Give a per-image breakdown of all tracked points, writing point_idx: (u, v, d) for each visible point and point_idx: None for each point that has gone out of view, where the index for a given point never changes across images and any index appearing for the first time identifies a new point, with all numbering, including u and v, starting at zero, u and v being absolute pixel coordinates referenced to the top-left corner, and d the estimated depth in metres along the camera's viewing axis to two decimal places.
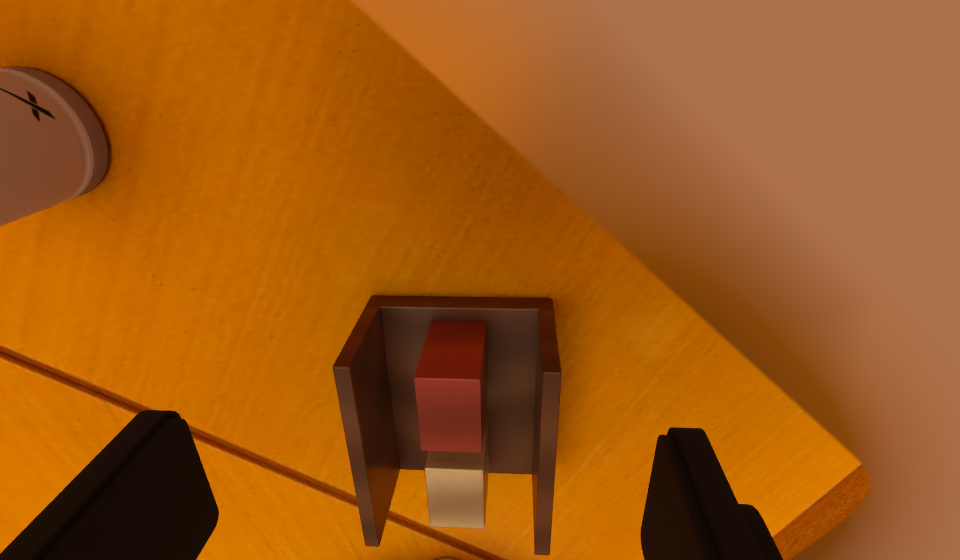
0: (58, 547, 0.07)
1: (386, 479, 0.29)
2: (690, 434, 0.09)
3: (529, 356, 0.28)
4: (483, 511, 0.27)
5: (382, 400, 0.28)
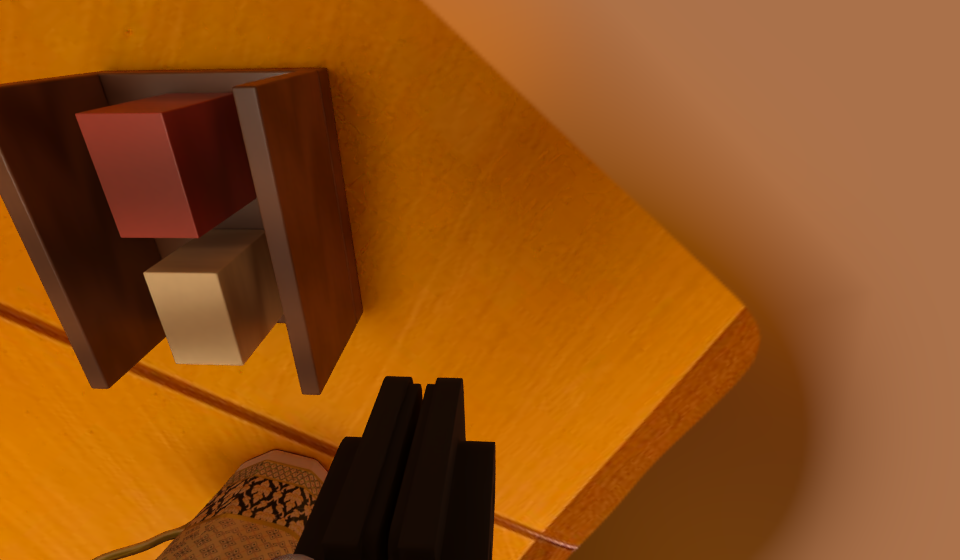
0: (384, 488, 0.08)
1: (133, 312, 0.23)
2: (447, 382, 0.10)
3: None
4: (235, 339, 0.21)
5: None
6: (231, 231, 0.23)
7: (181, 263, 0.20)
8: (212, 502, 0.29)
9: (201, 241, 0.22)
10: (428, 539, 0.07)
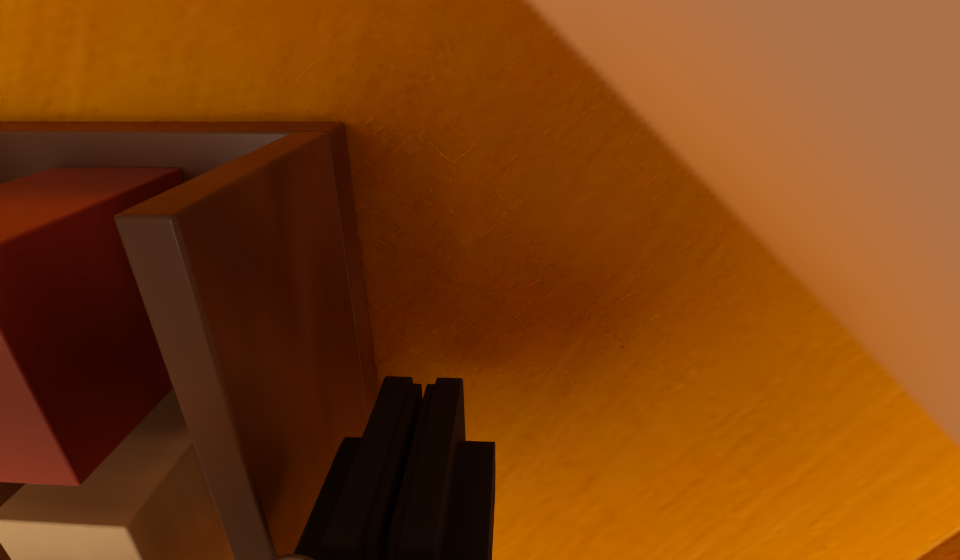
0: (384, 488, 0.08)
1: None
2: (447, 382, 0.10)
3: None
4: None
5: None
6: None
7: (67, 489, 0.11)
8: None
9: None
10: (428, 539, 0.07)
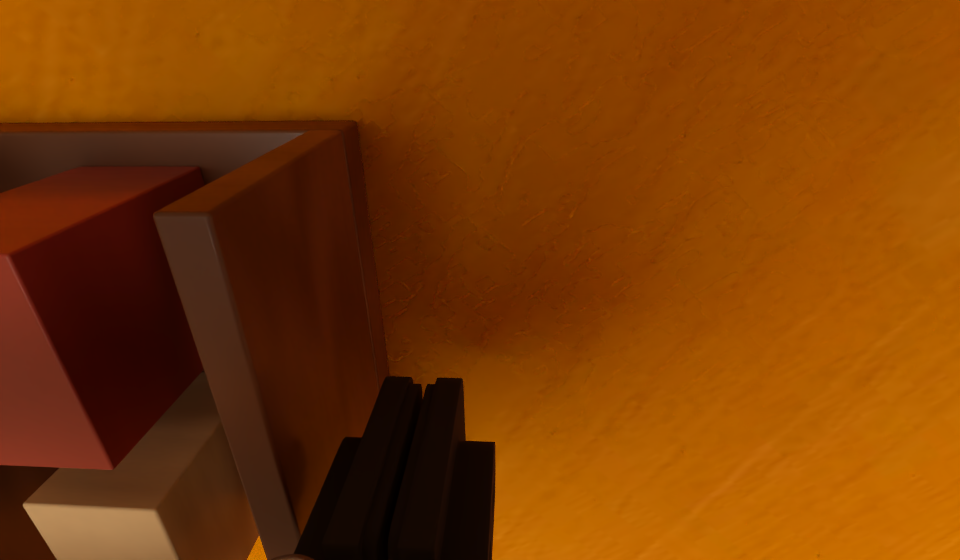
0: (384, 488, 0.08)
1: None
2: (447, 382, 0.10)
3: None
4: None
5: None
6: (197, 378, 0.14)
7: (97, 475, 0.11)
8: None
9: None
10: (428, 539, 0.07)
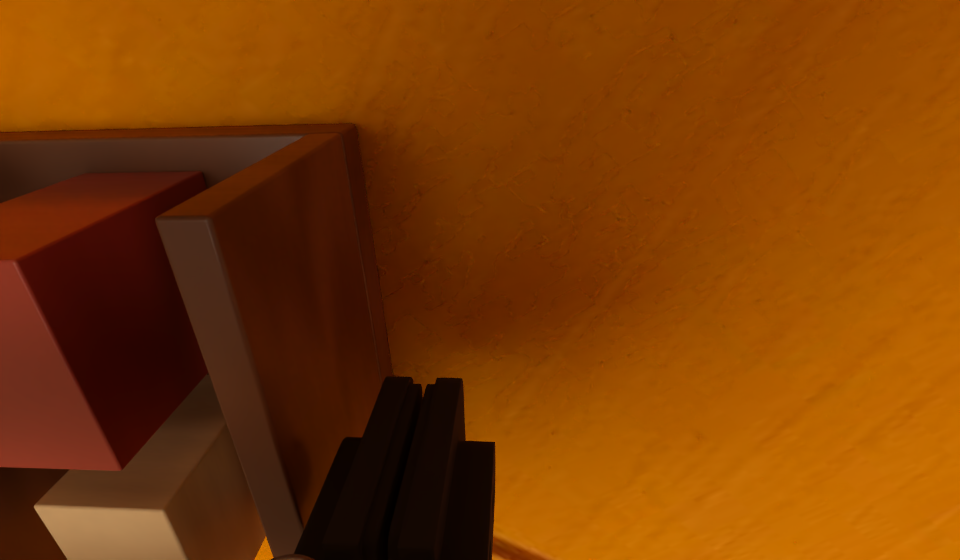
0: (385, 489, 0.08)
1: None
2: (447, 382, 0.10)
3: None
4: None
5: None
6: (203, 380, 0.15)
7: (106, 476, 0.11)
8: None
9: None
10: (428, 538, 0.07)
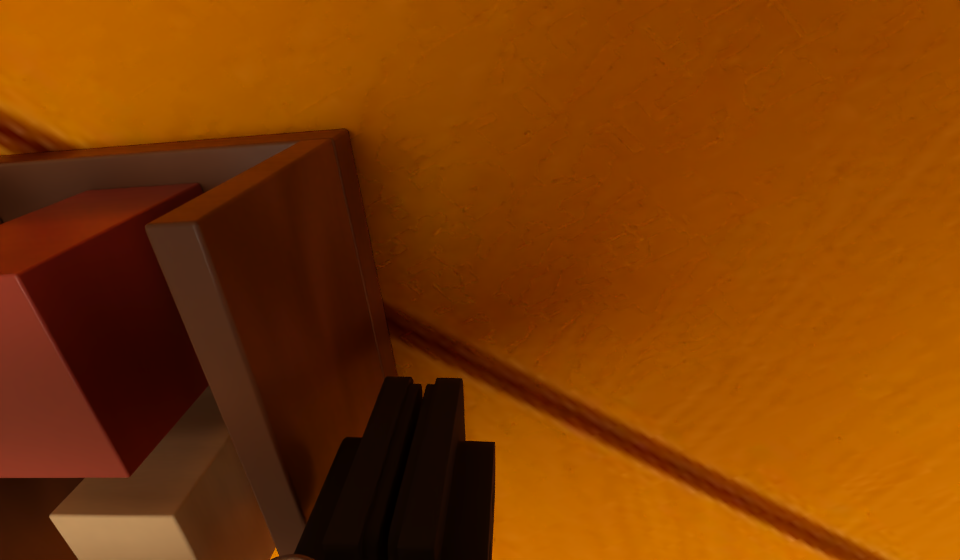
0: (384, 488, 0.08)
1: None
2: (447, 382, 0.10)
3: None
4: None
5: None
6: None
7: (118, 485, 0.12)
8: None
9: None
10: (428, 538, 0.07)
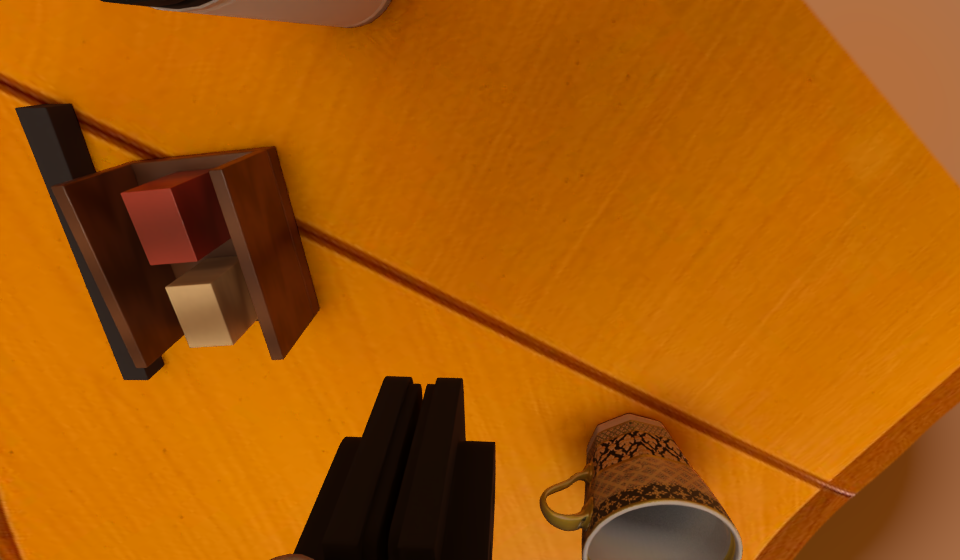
0: (384, 488, 0.08)
1: (160, 317, 0.34)
2: (447, 382, 0.10)
3: None
4: (226, 326, 0.32)
5: None
6: (222, 258, 0.35)
7: (188, 280, 0.31)
8: (608, 450, 0.37)
9: (202, 266, 0.34)
10: (428, 539, 0.07)
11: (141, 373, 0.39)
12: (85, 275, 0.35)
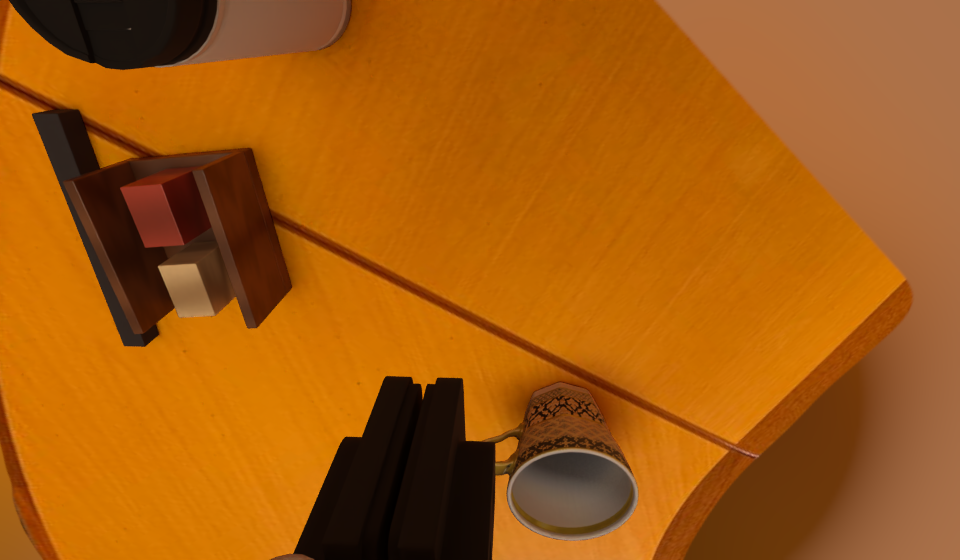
0: (384, 488, 0.08)
1: (154, 292, 0.40)
2: (447, 382, 0.10)
3: None
4: (209, 300, 0.38)
5: None
6: (207, 242, 0.41)
7: (177, 260, 0.37)
8: (537, 412, 0.43)
9: (189, 249, 0.40)
10: (428, 538, 0.07)
11: (139, 340, 0.45)
12: (91, 255, 0.41)
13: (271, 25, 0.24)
